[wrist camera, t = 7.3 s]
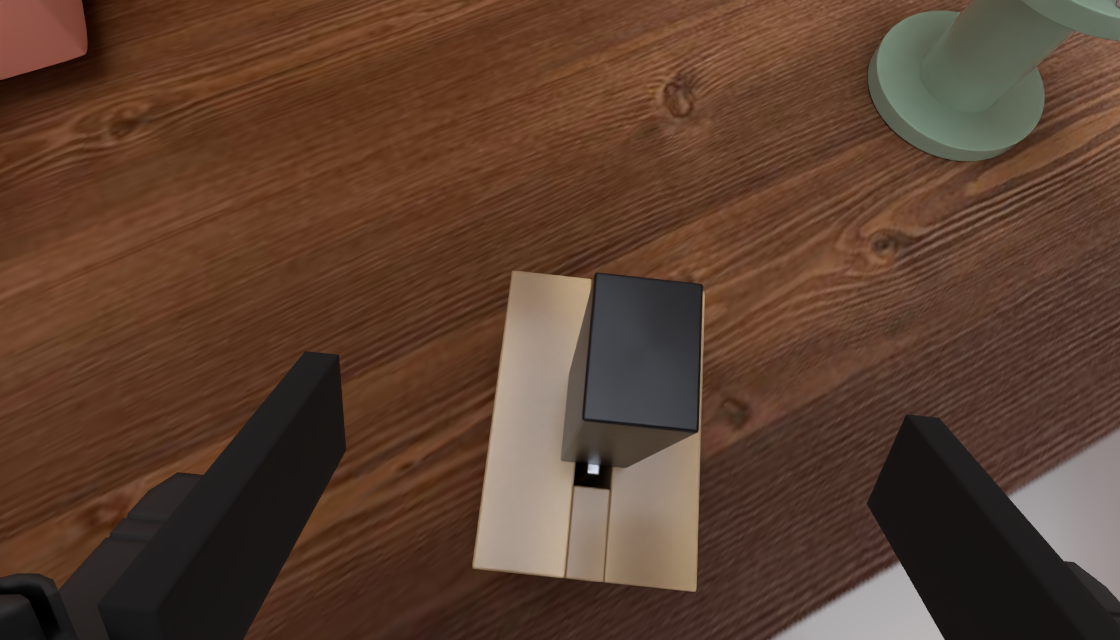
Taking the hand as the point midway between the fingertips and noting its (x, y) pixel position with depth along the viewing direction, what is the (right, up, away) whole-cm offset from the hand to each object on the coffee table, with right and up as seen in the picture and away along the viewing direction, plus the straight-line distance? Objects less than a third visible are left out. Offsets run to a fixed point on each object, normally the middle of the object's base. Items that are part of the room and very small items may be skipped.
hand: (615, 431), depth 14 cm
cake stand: (+20, +15, +19) cm, 31 cm away
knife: (0, -3, +12) cm, 13 cm away
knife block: (0, -3, +12) cm, 13 cm away
